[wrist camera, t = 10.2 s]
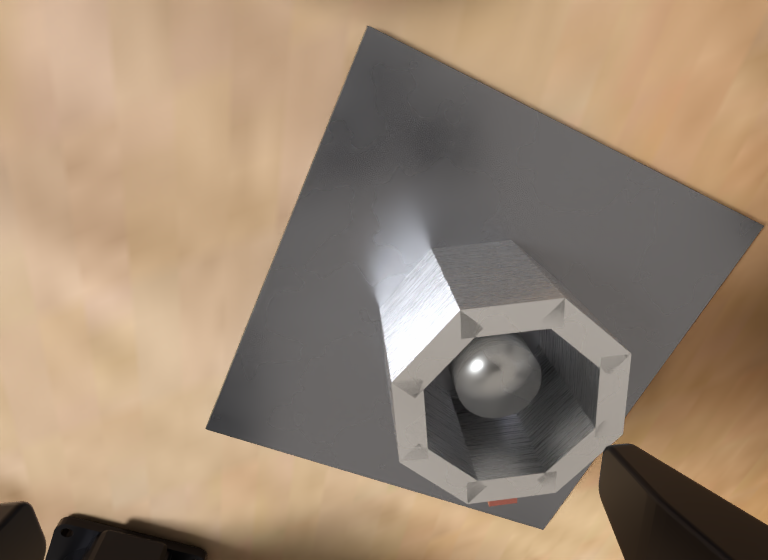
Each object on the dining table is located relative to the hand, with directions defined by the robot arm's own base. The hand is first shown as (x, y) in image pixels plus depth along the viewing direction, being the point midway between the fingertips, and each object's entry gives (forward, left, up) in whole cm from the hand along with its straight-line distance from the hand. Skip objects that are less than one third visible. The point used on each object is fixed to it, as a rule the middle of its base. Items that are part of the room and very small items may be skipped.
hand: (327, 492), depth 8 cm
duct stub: (-1, -6, -12) cm, 14 cm away
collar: (-1, -6, -11) cm, 13 cm away
